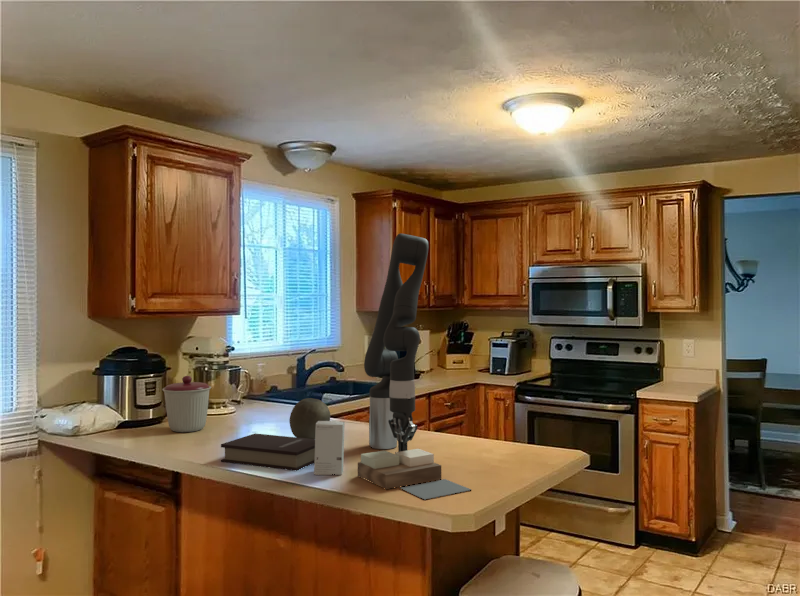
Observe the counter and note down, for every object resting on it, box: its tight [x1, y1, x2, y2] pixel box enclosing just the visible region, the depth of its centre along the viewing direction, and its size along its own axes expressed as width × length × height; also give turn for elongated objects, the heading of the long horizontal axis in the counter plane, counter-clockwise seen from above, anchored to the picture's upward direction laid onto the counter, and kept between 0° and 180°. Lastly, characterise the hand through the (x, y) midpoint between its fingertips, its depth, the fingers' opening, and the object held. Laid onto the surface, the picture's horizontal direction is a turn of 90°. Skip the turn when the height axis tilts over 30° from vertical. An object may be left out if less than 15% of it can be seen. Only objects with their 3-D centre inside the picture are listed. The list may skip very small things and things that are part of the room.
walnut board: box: [357, 461, 442, 490], centre depth 188 cm, size 16×18×4 cm
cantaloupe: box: [289, 397, 331, 439], centre depth 238 cm, size 14×14×15 cm
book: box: [220, 433, 315, 472], centre depth 211 cm, size 28×20×6 cm
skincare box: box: [313, 420, 345, 476], centre depth 194 cm, size 8×6×15 cm
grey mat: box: [399, 478, 472, 501], centre depth 177 cm, size 12×15×1 cm
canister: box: [162, 375, 212, 433], centre depth 258 cm, size 18×18×21 cm
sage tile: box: [360, 449, 399, 469], centre depth 188 cm, size 8×8×2 cm
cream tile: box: [394, 448, 435, 467], centre depth 190 cm, size 8×8×2 cm
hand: (402, 454), depth 195 cm, fingers closed
